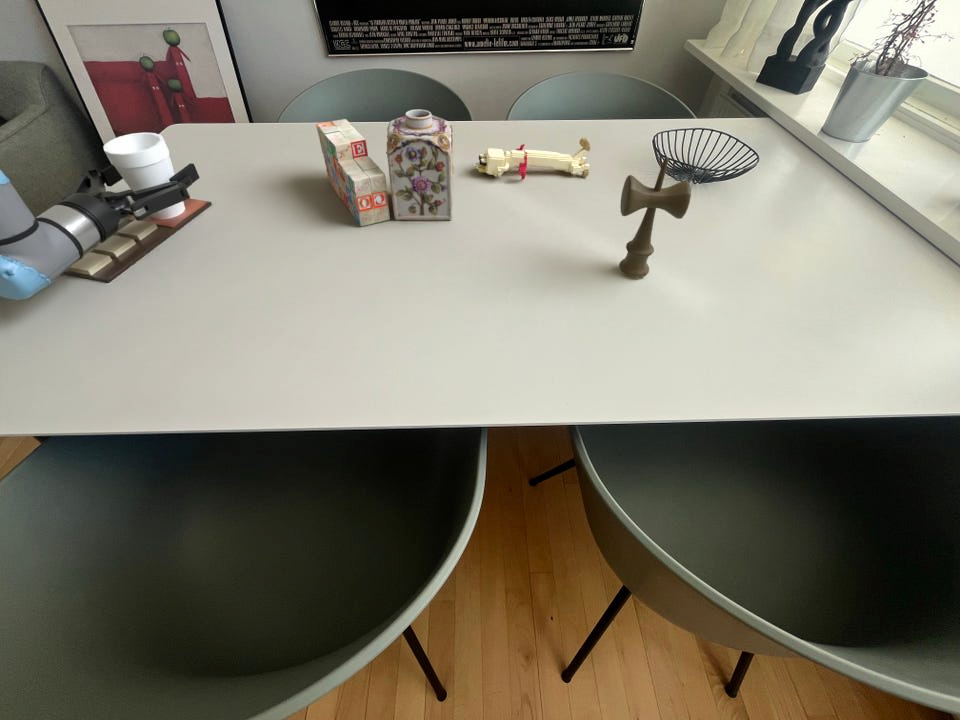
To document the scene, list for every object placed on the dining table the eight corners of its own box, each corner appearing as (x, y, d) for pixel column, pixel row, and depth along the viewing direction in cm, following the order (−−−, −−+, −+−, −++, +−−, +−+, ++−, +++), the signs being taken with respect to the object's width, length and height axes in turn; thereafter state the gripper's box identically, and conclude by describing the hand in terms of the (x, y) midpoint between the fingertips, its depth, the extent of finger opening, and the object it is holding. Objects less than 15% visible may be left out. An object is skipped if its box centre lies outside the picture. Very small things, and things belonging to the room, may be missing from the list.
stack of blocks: (391, 220, 94) (383, 157, 85) (360, 228, 92) (349, 164, 83) (356, 175, 107) (345, 117, 98) (328, 181, 105) (315, 122, 96)
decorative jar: (393, 221, 94) (381, 125, 81) (398, 192, 102) (388, 101, 89) (454, 221, 94) (452, 125, 81) (454, 192, 102) (452, 101, 89)
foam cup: (151, 200, 96) (117, 133, 87) (199, 198, 97) (170, 131, 88) (132, 224, 90) (93, 155, 80) (184, 222, 90) (151, 153, 81)
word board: (53, 272, 81) (47, 264, 79) (165, 197, 99) (161, 189, 98) (108, 283, 79) (103, 275, 78) (212, 204, 97) (209, 197, 96)
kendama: (604, 259, 86) (631, 146, 72) (658, 263, 85) (697, 150, 71) (606, 279, 82) (635, 163, 67) (663, 283, 81) (705, 168, 67)
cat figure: (578, 168, 114) (474, 160, 111) (588, 130, 108) (478, 121, 105) (587, 188, 107) (476, 180, 104) (598, 148, 101) (480, 139, 98)
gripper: (24, 237, 80) (112, 179, 95) (161, 254, 78) (230, 192, 92) (-8, 195, 75) (91, 141, 89) (138, 211, 72) (215, 153, 87)
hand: (161, 167), depth 91 cm, fingers open, 13 cm apart
